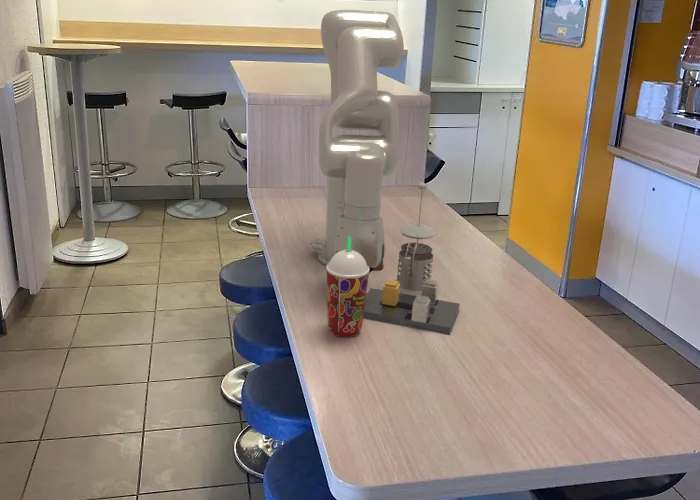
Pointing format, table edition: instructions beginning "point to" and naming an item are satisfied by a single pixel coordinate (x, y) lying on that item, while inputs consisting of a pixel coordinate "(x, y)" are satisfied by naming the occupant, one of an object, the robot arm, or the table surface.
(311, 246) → the robot arm
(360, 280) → the smoothie
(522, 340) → the table surface
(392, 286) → the orange rectangular block
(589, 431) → the table surface
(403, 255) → the french press
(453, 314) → the panel
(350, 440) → the table surface
